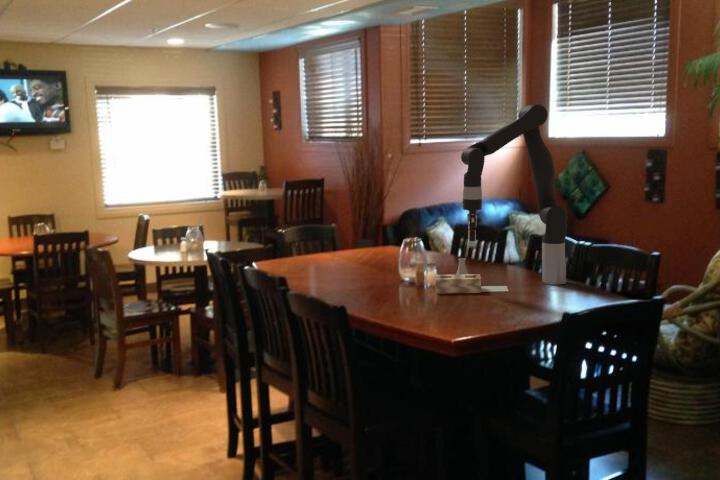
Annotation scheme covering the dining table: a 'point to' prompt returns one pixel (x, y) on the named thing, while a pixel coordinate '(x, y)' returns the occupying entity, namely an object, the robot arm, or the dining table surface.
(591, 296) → the dining table surface
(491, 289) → the mat
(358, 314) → the dining table surface
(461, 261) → the flask
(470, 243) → the peg
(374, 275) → the dining table surface
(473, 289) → the hole block
